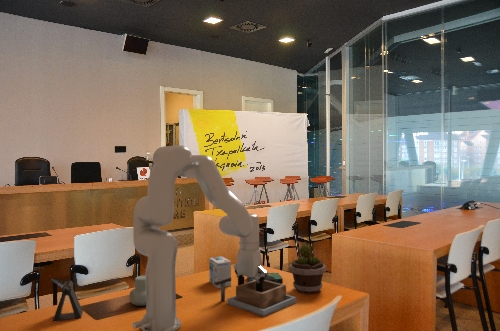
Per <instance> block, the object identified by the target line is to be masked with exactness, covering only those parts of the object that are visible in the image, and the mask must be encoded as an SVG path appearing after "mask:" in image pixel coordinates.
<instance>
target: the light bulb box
mask: <svg viewBox="0 0 500 331" xmlns="http://www.w3.org/2000/svg"><path fill="white" fill-rule="evenodd" d="M208 261H209V262H208V263H209V266H208V267H209V268H208V270H209V275H208V276H209V278H208V279H209V283H211V284H212V285H213V286H214V287H215V288H217V289H219V288H220V289H221V284H219V285H214V282H215V281H218V280H221V279H225V278H228V277H230V278H231V279H232V261H231V260H230V259H228V258H226V257H224V256H223V255H222V256H221V255H220V256H215V257H209V260H208ZM226 287H232V280H231V281H229V282H226V283H225V288H226Z"/></svg>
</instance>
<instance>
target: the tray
mask: <svg viewBox="0 0 500 331" xmlns="http://www.w3.org/2000/svg"><path fill="white" fill-rule="evenodd" d="M226 300H227V305H229V306H232V307H235V308H238V309H240V310H244V311H247V312H250V313H252V314H255V315H258V316H261V317H266V316H269V315H271V314H273V313H275V312H277V311H280V310H282V309H285V308H286V307H289V306H292V305H294V304H296V303H297V297H296V296H293V295H289V294H286V300H285V301H282V302H280V303H278V304H275V305H273V306H270V307H268V308H266V309H261V308H258V307H255V306H252V305H249V304H246V303H243V302H240V301H237V300H236V295H235V296H231V297H229V298H227V299H226Z"/></svg>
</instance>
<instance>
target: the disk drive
mask: <svg viewBox="0 0 500 331" xmlns="http://www.w3.org/2000/svg"><path fill="white" fill-rule="evenodd" d="M267 273H268V274H267V276H266V279H265V280H268V281H272V282H276V283H280V284H282V283H283V282H284V281H283V277H282V275H280V273H279V272H267ZM258 278H259V277H258ZM246 280H247V282H250V281H253V280H256V279H255V277H254V278H251V277H247V276H246Z"/></svg>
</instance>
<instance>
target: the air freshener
mask: <svg viewBox="0 0 500 331" xmlns="http://www.w3.org/2000/svg"><path fill="white" fill-rule="evenodd" d="M129 299H130V302H131V304H132V305H134V306H137V307H138V306H139V307H142V306H146V274H144V275H139V276H136V277H135V278H134V288H133V289H132V290H131V291H130V292H129Z"/></svg>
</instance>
